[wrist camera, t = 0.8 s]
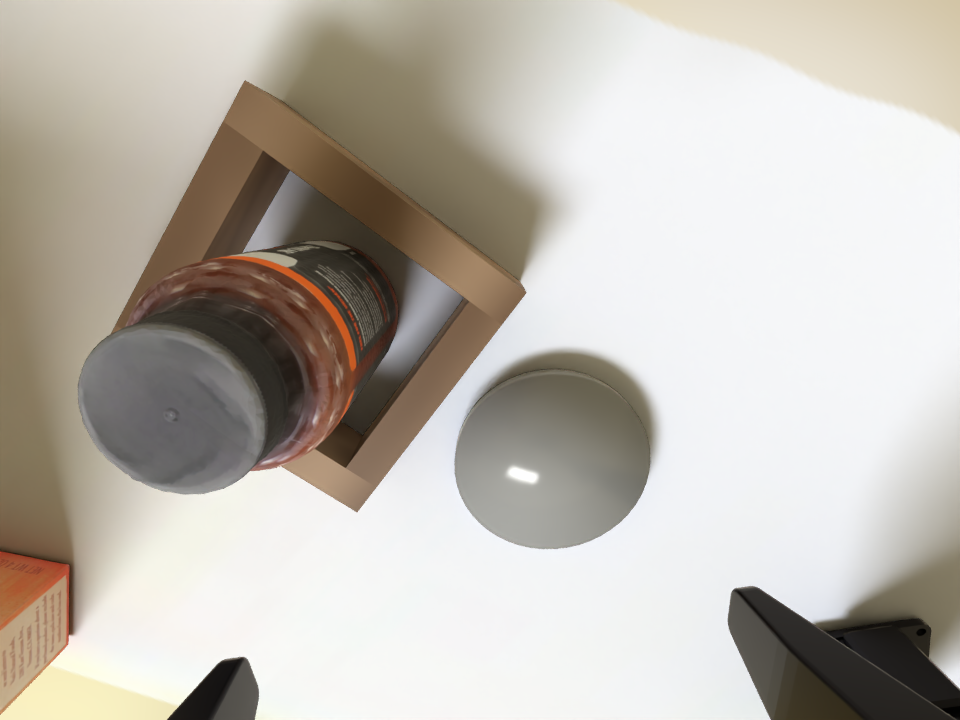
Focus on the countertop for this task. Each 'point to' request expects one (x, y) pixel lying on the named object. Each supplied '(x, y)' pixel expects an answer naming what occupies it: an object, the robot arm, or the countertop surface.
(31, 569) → the cracker box
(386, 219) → the walnut holder
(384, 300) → the supplement bottle
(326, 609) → the countertop surface
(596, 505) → the grey round disc
